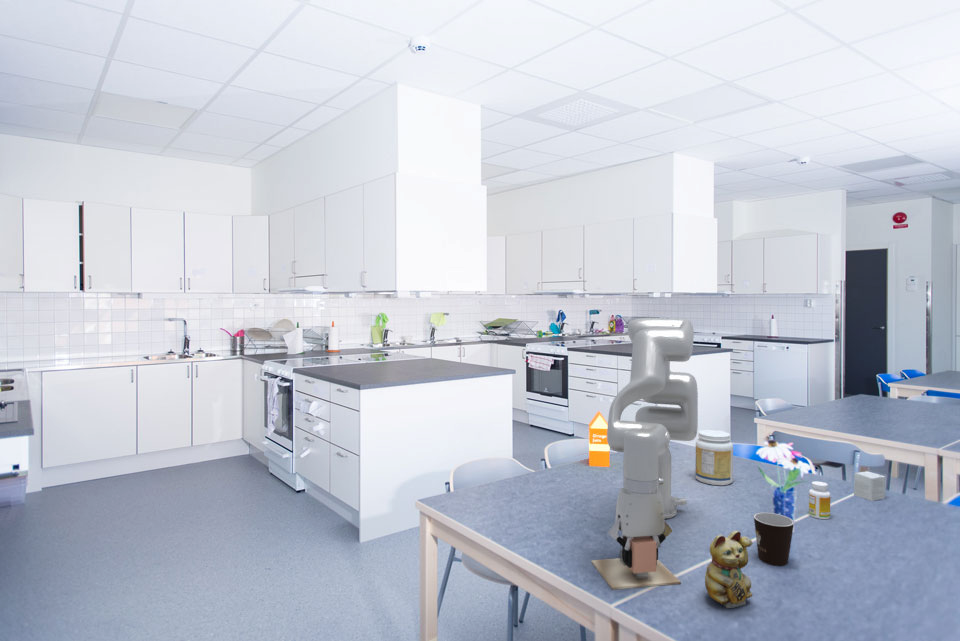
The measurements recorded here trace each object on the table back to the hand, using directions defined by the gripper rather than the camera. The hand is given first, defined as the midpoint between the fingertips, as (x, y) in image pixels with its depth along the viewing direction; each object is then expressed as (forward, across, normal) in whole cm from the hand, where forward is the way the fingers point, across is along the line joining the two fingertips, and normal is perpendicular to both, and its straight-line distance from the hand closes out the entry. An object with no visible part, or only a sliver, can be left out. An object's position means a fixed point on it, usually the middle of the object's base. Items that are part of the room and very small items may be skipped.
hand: (640, 563), depth 126 cm
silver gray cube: (+4, 0, -7) cm, 8 cm away
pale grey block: (+4, -96, -39) cm, 104 cm away
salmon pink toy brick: (+1, 0, 0) cm, 1 cm away
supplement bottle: (+4, -68, -27) cm, 73 cm away
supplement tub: (+4, -56, -62) cm, 84 cm away
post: (+4, 0, 0) cm, 4 cm away
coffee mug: (+4, -37, -5) cm, 38 cm away
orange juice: (+4, -24, -89) cm, 92 cm away
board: (+4, 0, -3) cm, 5 cm away
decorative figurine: (+4, -14, +11) cm, 18 cm away
